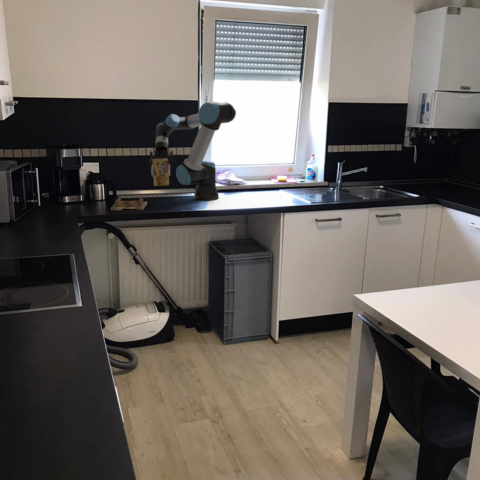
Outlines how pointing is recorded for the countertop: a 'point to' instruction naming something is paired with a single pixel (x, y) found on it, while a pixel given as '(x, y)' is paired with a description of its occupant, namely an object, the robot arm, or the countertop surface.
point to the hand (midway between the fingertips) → (160, 174)
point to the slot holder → (129, 204)
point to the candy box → (160, 172)
